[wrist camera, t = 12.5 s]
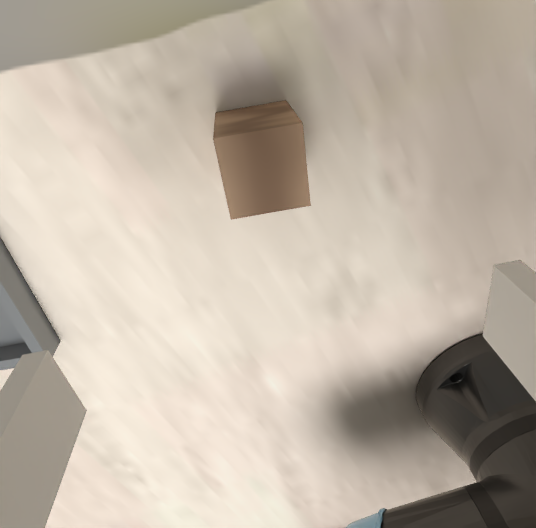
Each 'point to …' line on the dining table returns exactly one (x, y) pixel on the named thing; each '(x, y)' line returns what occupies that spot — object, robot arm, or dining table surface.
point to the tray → (20, 316)
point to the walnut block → (262, 159)
